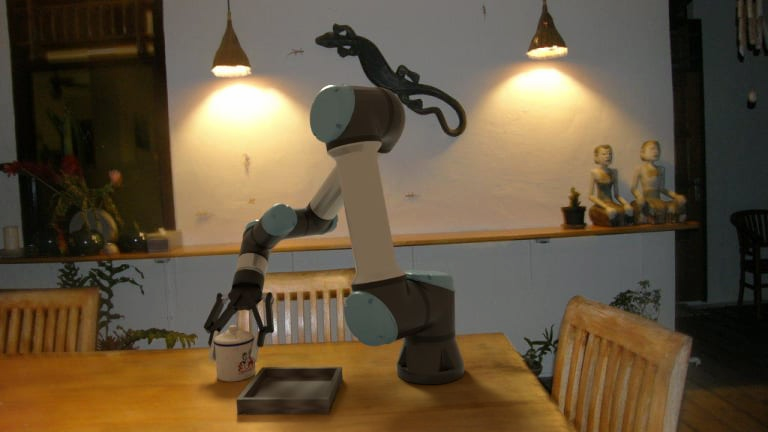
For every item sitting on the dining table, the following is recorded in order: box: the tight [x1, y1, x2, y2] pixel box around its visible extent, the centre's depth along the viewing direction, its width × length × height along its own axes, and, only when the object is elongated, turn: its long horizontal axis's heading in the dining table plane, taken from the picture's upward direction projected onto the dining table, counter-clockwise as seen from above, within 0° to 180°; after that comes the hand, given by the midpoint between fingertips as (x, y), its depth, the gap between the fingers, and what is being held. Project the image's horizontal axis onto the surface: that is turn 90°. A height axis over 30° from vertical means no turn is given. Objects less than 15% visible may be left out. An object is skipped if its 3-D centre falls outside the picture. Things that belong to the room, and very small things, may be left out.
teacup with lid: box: [214, 324, 256, 382], centre depth 141 cm, size 12×9×12 cm
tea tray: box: [236, 366, 344, 415], centre depth 127 cm, size 18×18×3 cm
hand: (232, 359), depth 138 cm, fingers closed on teacup with lid, 9 cm apart
